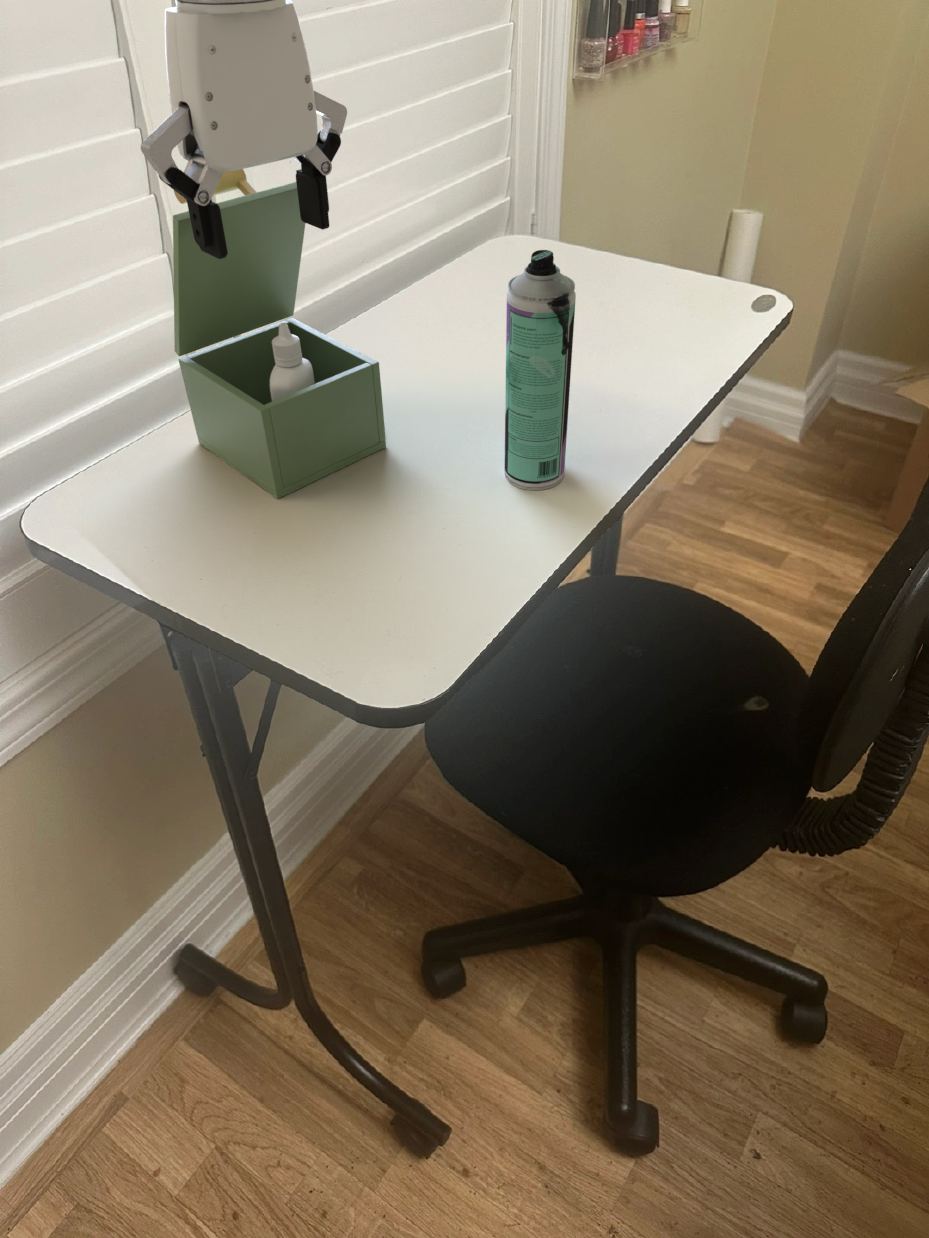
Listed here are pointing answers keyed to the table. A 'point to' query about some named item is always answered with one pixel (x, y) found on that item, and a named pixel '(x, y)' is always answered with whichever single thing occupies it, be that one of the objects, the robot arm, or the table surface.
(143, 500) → the table surface
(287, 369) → the eye dropper bottle
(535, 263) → the spray can
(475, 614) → the table surface
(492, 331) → the table surface
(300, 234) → the lid
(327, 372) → the chest
